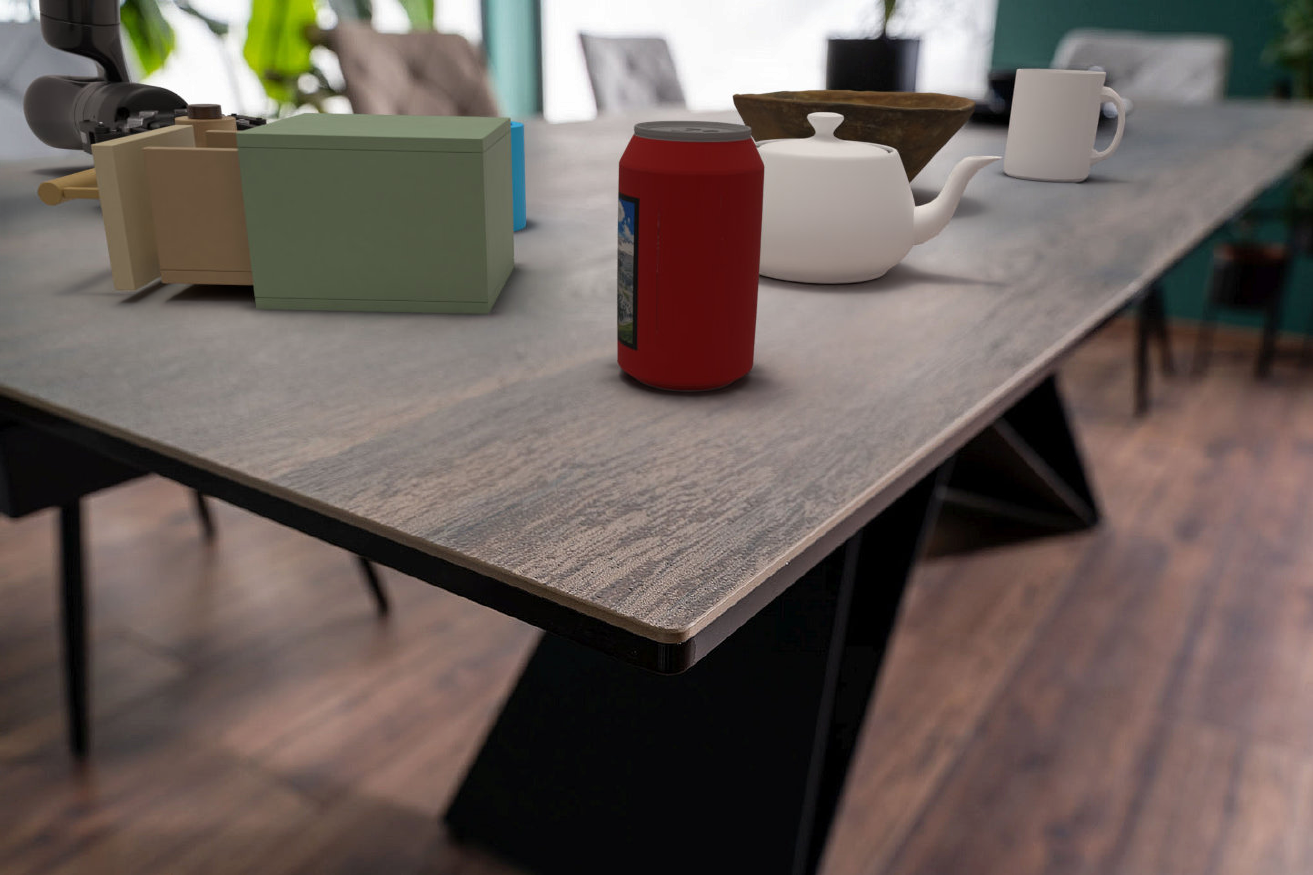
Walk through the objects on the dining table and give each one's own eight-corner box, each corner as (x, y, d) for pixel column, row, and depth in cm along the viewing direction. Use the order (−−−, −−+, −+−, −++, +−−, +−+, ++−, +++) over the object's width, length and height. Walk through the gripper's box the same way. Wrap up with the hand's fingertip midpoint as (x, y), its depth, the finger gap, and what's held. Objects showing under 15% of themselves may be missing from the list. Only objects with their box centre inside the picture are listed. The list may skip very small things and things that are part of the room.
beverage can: (653, 350, 58) (658, 116, 53) (772, 369, 55) (788, 125, 50) (591, 385, 52) (591, 127, 47) (721, 409, 49) (733, 137, 45)
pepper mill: (178, 221, 88) (162, 106, 85) (200, 211, 92) (186, 102, 89) (235, 222, 88) (221, 108, 85) (254, 213, 92) (242, 103, 89)
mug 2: (994, 170, 129) (1008, 68, 125) (1097, 174, 128) (1114, 71, 124) (1012, 182, 121) (1027, 72, 116) (1122, 186, 120) (1142, 75, 115)
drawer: (33, 288, 63) (5, 142, 60) (122, 248, 74) (102, 123, 71) (328, 295, 63) (315, 149, 60) (375, 254, 74) (365, 129, 71)
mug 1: (541, 232, 87) (539, 127, 84) (442, 239, 84) (436, 130, 81) (492, 208, 97) (488, 114, 94) (402, 213, 94) (395, 116, 91)
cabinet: (256, 311, 63) (235, 132, 59) (318, 264, 75) (304, 112, 71) (488, 316, 63) (482, 138, 59) (514, 268, 75) (510, 117, 71)
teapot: (649, 280, 72) (652, 113, 68) (693, 242, 85) (698, 99, 81) (988, 308, 68) (1013, 130, 64) (982, 263, 80) (1003, 112, 76)
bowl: (867, 180, 120) (876, 85, 116) (1010, 214, 100) (1026, 102, 97) (690, 188, 111) (694, 86, 107) (809, 227, 92) (818, 105, 88)
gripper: (47, 85, 93) (108, 98, 82) (212, 81, 102) (287, 92, 91) (63, 173, 96) (124, 198, 85) (222, 162, 105) (296, 183, 94)
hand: (209, 143), depth 88 cm, fingers open, 8 cm apart
